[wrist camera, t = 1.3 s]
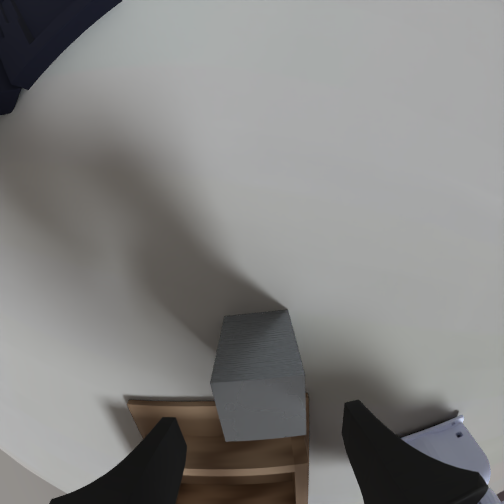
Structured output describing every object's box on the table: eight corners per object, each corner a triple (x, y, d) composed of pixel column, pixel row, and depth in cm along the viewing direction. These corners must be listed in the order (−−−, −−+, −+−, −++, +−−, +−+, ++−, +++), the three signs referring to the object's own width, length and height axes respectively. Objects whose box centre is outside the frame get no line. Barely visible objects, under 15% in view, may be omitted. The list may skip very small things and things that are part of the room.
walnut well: (307, 392, 20) (316, 431, 16) (307, 493, 23) (311, 523, 19) (129, 399, 20) (111, 433, 16) (180, 497, 24) (174, 525, 20)
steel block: (287, 309, 18) (304, 374, 12) (291, 361, 19) (306, 434, 12) (224, 316, 19) (210, 382, 12) (233, 367, 19) (225, 441, 13)
